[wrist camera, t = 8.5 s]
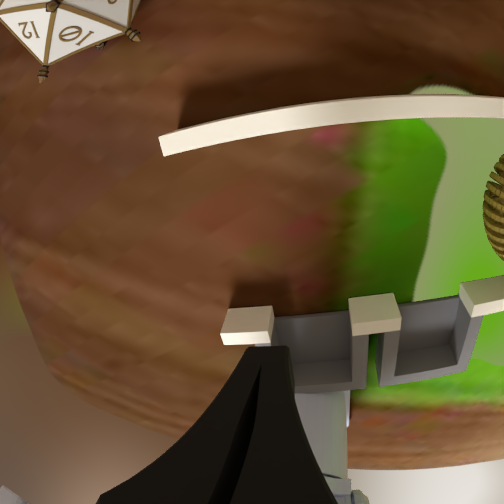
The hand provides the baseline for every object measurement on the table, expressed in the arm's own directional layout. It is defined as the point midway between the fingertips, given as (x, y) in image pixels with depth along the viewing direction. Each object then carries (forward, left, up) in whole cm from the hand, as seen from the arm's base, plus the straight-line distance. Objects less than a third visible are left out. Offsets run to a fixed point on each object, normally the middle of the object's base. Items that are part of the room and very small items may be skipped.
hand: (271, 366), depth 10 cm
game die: (+17, +7, -10) cm, 20 cm away
